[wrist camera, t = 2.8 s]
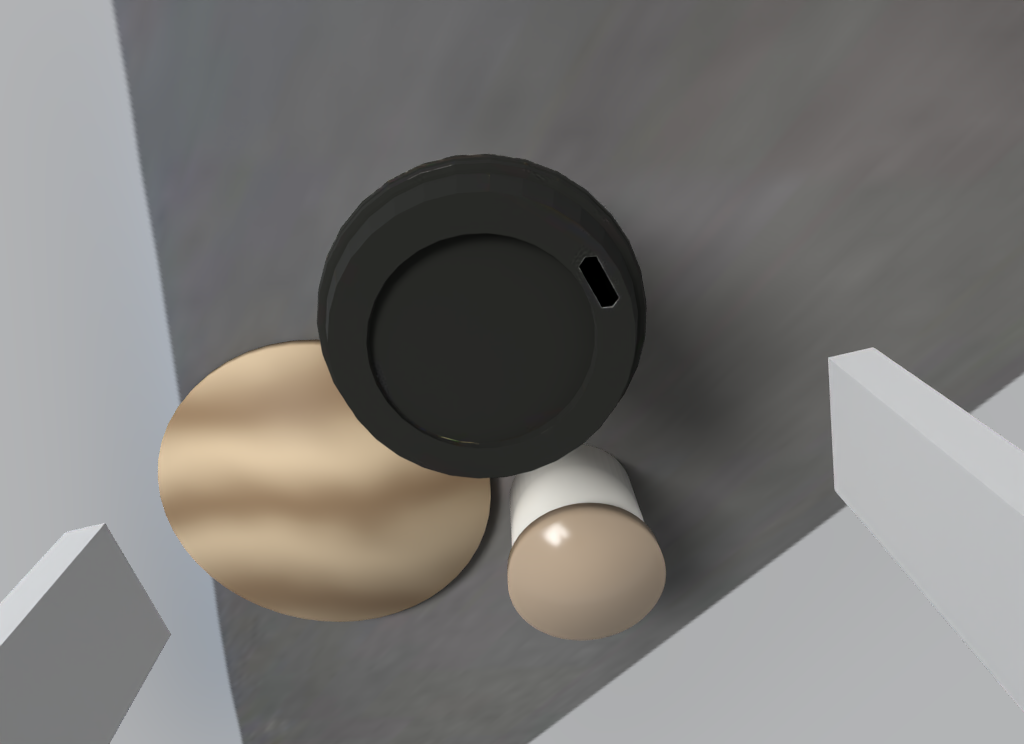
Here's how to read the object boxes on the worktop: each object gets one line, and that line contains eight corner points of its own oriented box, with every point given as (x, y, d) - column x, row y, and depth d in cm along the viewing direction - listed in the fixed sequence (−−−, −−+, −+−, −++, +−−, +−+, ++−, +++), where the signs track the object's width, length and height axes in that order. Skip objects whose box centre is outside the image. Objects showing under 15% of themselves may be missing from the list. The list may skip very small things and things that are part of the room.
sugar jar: (490, 455, 37) (490, 535, 31) (624, 425, 37) (653, 500, 30) (520, 561, 40) (527, 653, 34) (645, 534, 40) (675, 622, 34)
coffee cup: (338, 194, 31) (223, 290, 18) (521, 77, 29) (552, 81, 16) (453, 361, 35) (431, 547, 21) (621, 265, 33) (717, 401, 19)
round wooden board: (104, 384, 35) (96, 390, 34) (441, 303, 34) (440, 308, 33) (241, 637, 42) (237, 647, 41) (522, 577, 41) (522, 587, 40)
